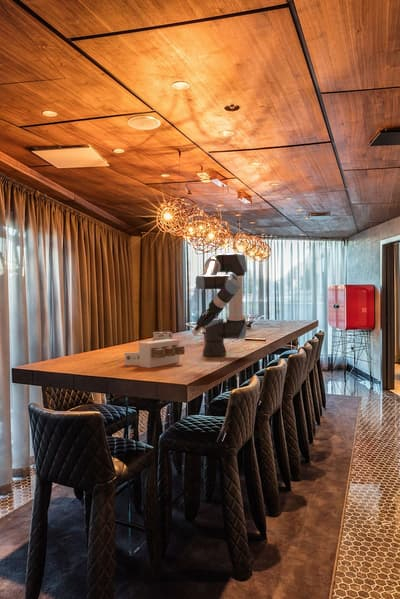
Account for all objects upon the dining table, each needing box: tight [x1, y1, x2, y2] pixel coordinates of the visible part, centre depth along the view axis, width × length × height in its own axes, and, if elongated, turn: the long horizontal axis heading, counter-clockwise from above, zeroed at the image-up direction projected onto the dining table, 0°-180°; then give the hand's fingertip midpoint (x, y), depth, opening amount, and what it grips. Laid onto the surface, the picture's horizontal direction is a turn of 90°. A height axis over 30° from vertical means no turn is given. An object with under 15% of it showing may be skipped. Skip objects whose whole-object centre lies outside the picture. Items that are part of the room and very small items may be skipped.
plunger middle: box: [162, 347, 175, 357], centre depth 256 cm, size 4×9×4 cm, turn 51°
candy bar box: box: [152, 331, 173, 341], centre depth 279 cm, size 11×5×16 cm, turn 76°
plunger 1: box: [151, 348, 165, 358], centre depth 250 cm, size 4×9×4 cm, turn 51°
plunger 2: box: [172, 345, 186, 356], centre depth 263 cm, size 4×9×4 cm, turn 51°
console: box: [138, 338, 180, 369], centre depth 260 cm, size 24×8×13 cm, turn 141°
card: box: [124, 351, 139, 366], centre depth 257 cm, size 10×1×7 cm, turn 98°
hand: (194, 333), depth 253 cm, fingers closed
